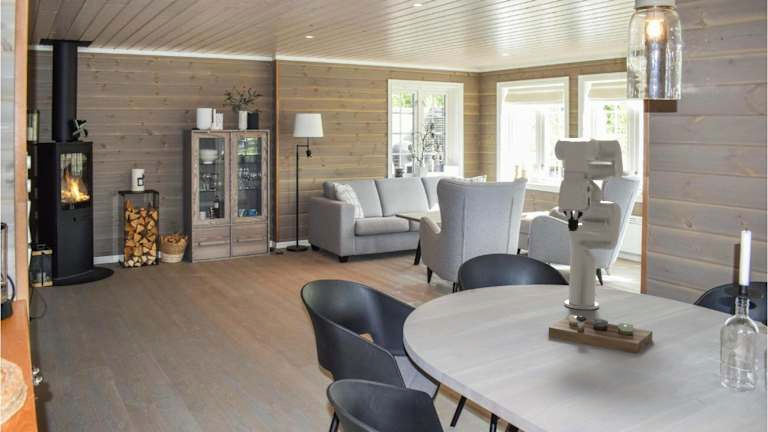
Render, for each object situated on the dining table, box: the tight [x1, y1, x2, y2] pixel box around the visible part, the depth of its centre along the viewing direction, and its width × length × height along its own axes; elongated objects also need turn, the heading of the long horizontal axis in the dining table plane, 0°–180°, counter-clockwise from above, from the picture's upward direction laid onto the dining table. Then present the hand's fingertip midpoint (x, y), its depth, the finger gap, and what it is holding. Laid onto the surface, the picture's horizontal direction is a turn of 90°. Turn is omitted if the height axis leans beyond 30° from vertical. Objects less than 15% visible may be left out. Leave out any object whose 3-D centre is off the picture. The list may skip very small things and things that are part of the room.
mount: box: [548, 316, 654, 354], centre depth 224 cm, size 16×28×3 cm, turn 54°
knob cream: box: [568, 314, 578, 327], centre depth 228 cm, size 4×4×5 cm
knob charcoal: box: [592, 318, 609, 331], centre depth 223 cm, size 4×4×5 cm
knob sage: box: [618, 322, 634, 336], centre depth 219 cm, size 4×4×5 cm
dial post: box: [575, 314, 588, 333], centre depth 220 cm, size 3×3×5 cm
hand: (572, 230), depth 238 cm, fingers closed
